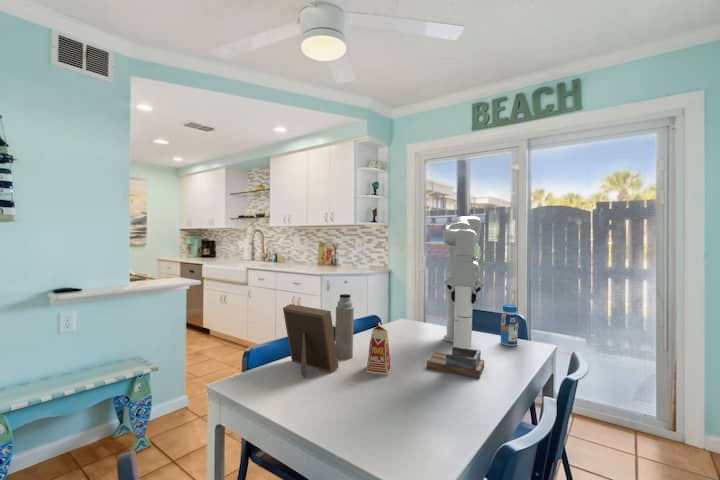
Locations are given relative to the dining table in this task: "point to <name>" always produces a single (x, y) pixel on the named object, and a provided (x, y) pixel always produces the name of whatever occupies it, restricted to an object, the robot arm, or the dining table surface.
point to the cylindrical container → (463, 317)
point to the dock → (458, 362)
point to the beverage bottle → (509, 325)
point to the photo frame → (311, 338)
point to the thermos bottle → (344, 328)
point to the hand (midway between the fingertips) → (463, 301)
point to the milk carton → (379, 352)
